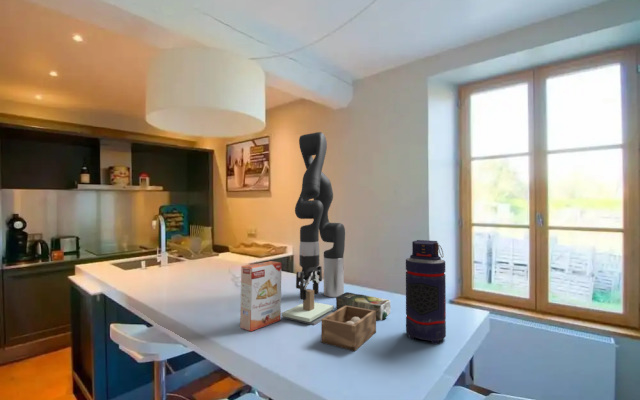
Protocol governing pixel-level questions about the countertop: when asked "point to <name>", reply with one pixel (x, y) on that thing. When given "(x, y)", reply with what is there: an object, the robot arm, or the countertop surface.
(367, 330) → the egg box
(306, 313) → the lid
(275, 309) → the cracker box
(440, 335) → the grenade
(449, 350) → the countertop surface
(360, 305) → the juice carton
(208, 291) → the countertop surface
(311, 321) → the plate
